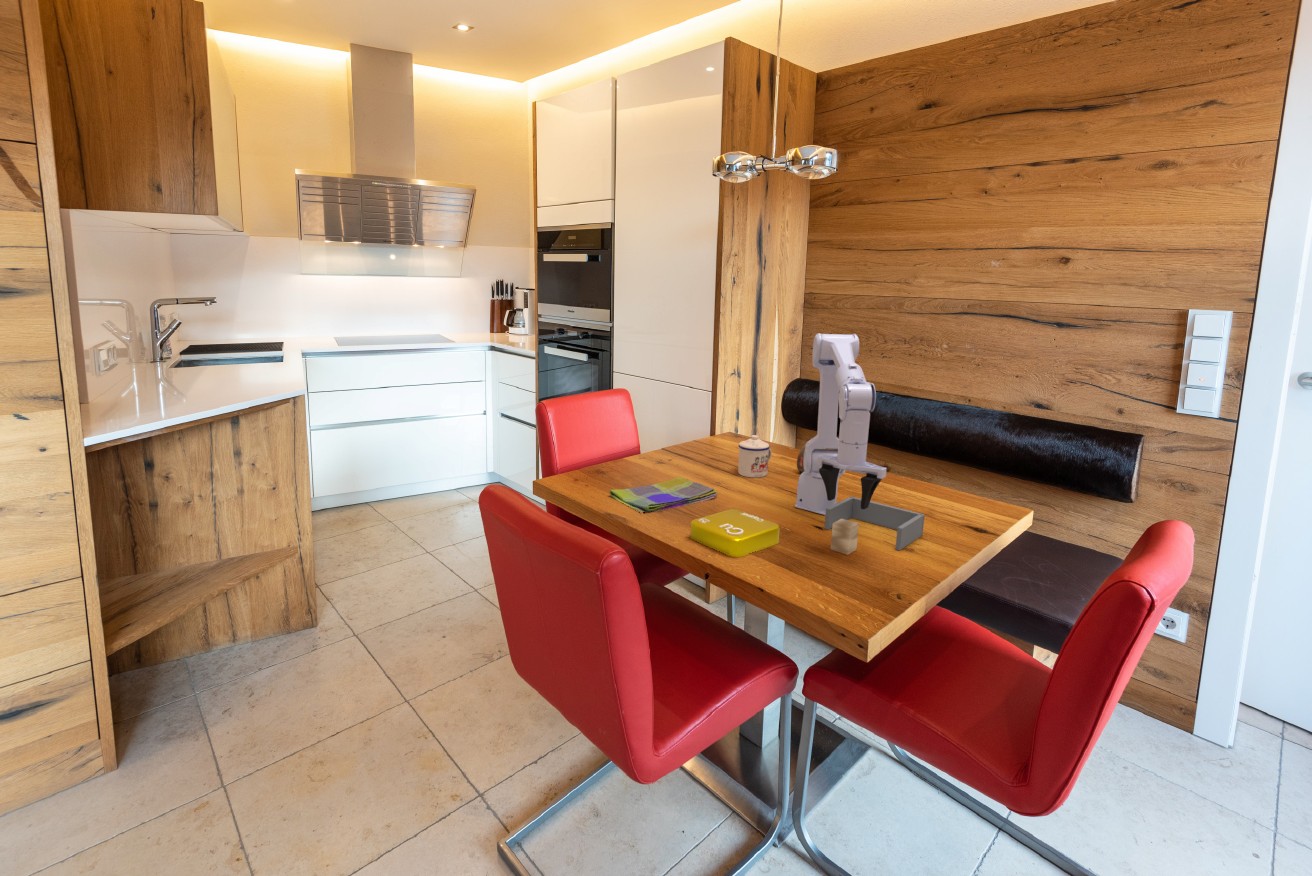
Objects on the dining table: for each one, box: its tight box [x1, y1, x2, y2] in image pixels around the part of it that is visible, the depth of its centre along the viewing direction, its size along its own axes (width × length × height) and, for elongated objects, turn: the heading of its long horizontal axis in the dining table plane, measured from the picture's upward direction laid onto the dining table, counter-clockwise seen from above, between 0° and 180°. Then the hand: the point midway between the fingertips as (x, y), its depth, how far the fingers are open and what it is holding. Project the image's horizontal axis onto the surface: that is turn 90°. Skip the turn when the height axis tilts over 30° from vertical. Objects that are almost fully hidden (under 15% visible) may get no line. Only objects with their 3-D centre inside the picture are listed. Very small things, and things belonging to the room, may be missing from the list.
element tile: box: [690, 508, 780, 558], centre depth 148 cm, size 15×15×5 cm
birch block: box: [830, 519, 860, 556], centre depth 143 cm, size 4×4×6 cm
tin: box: [796, 444, 828, 473], centre depth 203 cm, size 15×3×8 cm, turn 141°
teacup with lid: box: [737, 434, 773, 479], centre depth 198 cm, size 12×9×12 cm
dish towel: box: [609, 476, 718, 514], centre depth 176 cm, size 18×24×3 cm
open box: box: [823, 495, 926, 551], centre depth 153 cm, size 18×12×5 cm
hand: (847, 503), depth 141 cm, fingers open, 7 cm apart
